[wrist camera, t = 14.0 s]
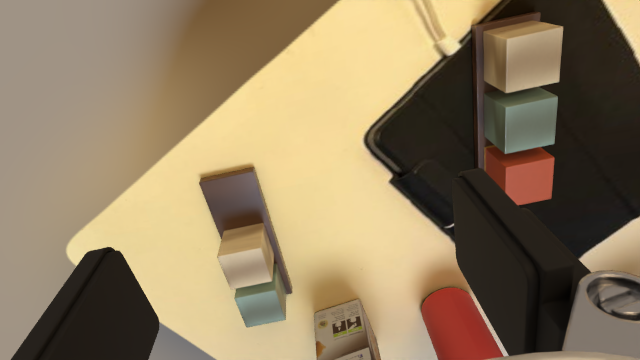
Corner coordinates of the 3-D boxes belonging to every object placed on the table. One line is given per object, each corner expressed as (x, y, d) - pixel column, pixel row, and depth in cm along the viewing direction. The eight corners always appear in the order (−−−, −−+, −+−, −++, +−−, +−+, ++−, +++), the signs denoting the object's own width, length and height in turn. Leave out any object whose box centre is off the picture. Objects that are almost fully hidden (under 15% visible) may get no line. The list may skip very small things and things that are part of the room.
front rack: (471, 25, 36) (498, 33, 31) (534, 11, 35) (572, 17, 31) (475, 185, 43) (497, 212, 39) (527, 174, 43) (556, 200, 38)
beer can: (451, 275, 49) (494, 360, 38) (480, 302, 51) (529, 389, 41) (409, 305, 51) (440, 393, 40) (440, 330, 53) (476, 419, 43)
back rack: (200, 178, 41) (188, 205, 36) (254, 166, 41) (249, 192, 36) (247, 296, 49) (242, 331, 44) (292, 287, 48) (292, 322, 44)
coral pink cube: (485, 148, 40) (505, 167, 36) (529, 139, 40) (554, 157, 36) (485, 186, 42) (505, 208, 38) (527, 177, 42) (551, 198, 38)
